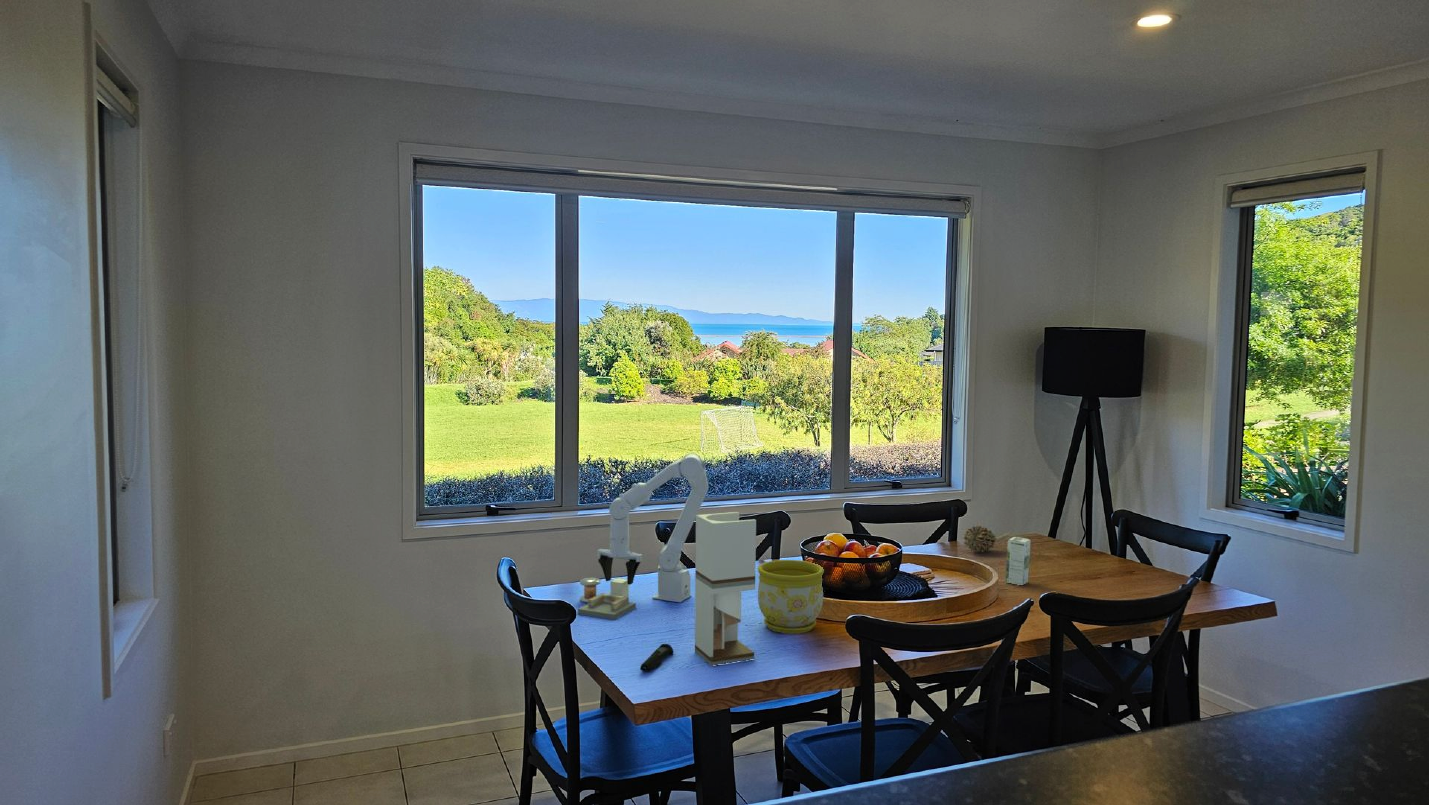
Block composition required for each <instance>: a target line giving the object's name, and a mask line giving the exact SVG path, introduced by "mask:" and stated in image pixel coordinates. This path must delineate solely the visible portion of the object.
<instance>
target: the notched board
mask: <svg viewBox="0 0 1429 805" xmlns="http://www.w3.org/2000/svg"><path fill="white" fill-rule="evenodd" d="M596 595H597V596H595V597H593V598H591V599H589V600H588V603H586V604H585V605H583V606H581V607H579V608H577V615H582V616H586V617H587V616H588V617H594V618H600V619H608V620H614V621H616V620H618V619H619V618H621V617H623V616H625V615H626V614H628V613H630V612H631V611H633V610H635V609H636V606H637V603H636V602H631V601H630V600H629V598H630V597H629V596H627V597H625V596H618V595H611V594H609V593H603V592H602V593H599V594H596Z"/></svg>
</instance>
